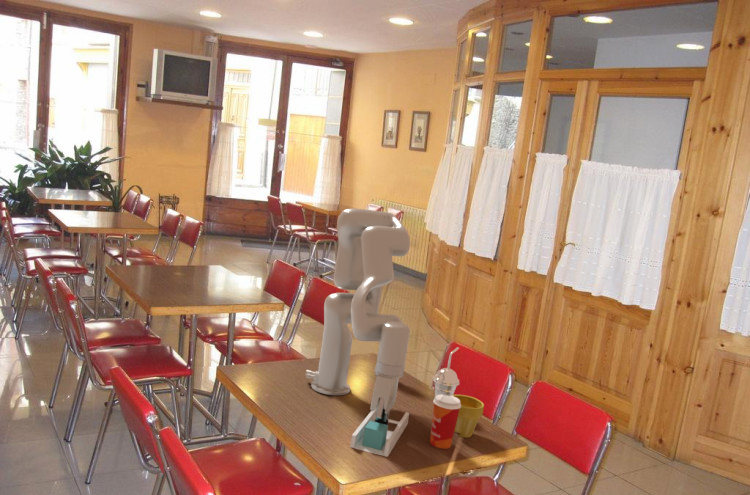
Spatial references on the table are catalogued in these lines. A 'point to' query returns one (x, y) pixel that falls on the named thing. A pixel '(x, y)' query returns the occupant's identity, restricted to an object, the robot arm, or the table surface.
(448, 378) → the cup with straw
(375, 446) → the teal block
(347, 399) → the table surface
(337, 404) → the table surface
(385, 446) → the trap channel
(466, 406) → the plant pot
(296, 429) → the table surface
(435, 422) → the paper cup
